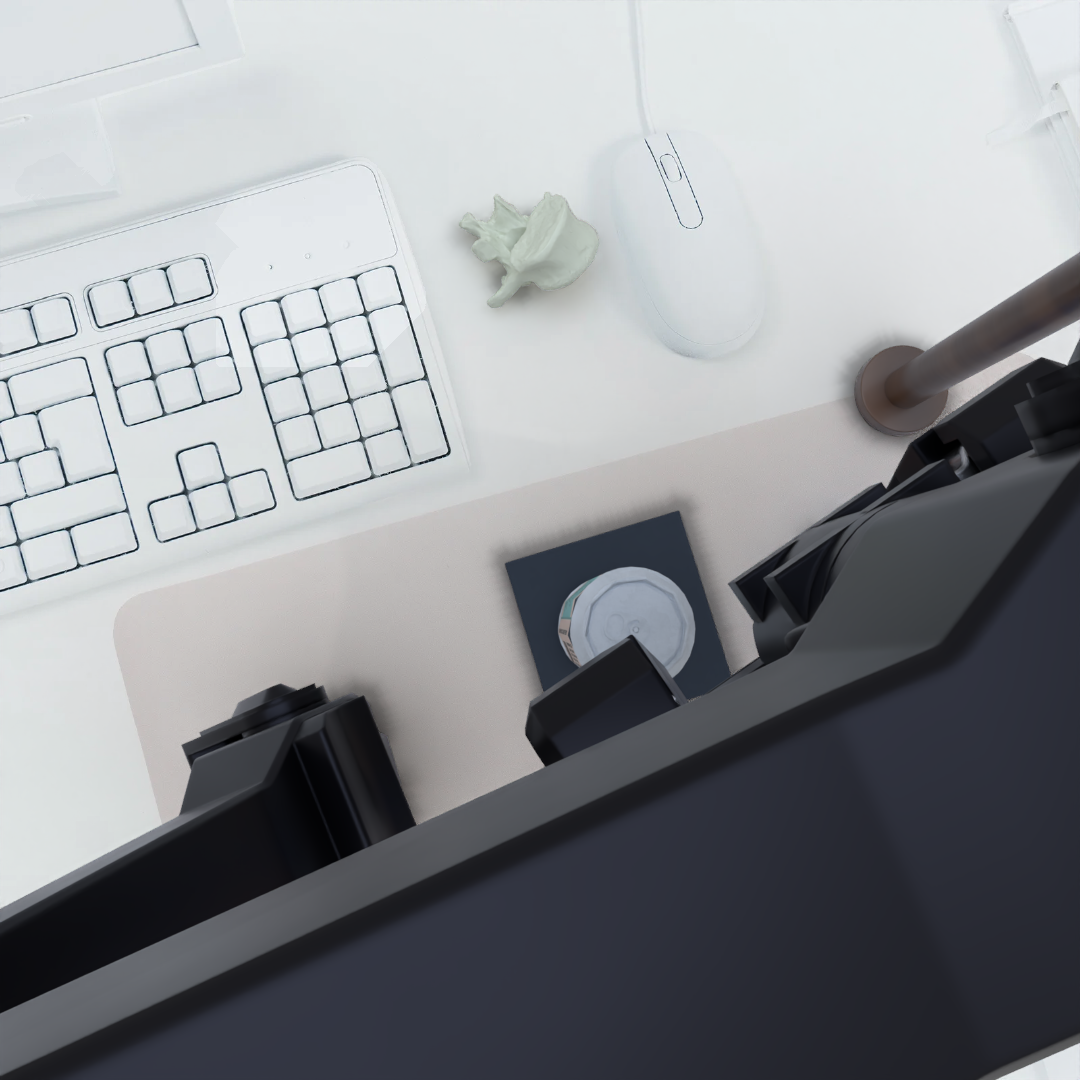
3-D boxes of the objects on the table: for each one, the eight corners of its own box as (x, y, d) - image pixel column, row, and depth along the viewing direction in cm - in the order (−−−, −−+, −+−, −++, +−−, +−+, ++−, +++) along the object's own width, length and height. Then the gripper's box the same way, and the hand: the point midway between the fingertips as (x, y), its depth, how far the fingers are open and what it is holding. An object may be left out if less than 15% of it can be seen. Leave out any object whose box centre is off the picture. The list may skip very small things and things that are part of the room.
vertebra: (423, 273, 50) (472, 314, 53) (522, 287, 46) (570, 332, 48) (481, 159, 51) (526, 206, 54) (584, 162, 46) (627, 212, 49)
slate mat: (557, 739, 50) (558, 740, 50) (504, 563, 51) (504, 562, 50) (732, 684, 50) (734, 685, 50) (677, 511, 51) (679, 510, 51)
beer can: (644, 684, 50) (686, 706, 38) (548, 664, 50) (560, 680, 38) (663, 588, 50) (710, 579, 38) (568, 568, 50) (586, 553, 38)
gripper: (814, 1201, 21) (689, 952, 37) (1513, 688, 22) (1103, 657, 38) (512, 749, 22) (514, 693, 37) (1209, 270, 23) (928, 410, 38)
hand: (772, 618), depth 38 cm, fingers open, 9 cm apart
